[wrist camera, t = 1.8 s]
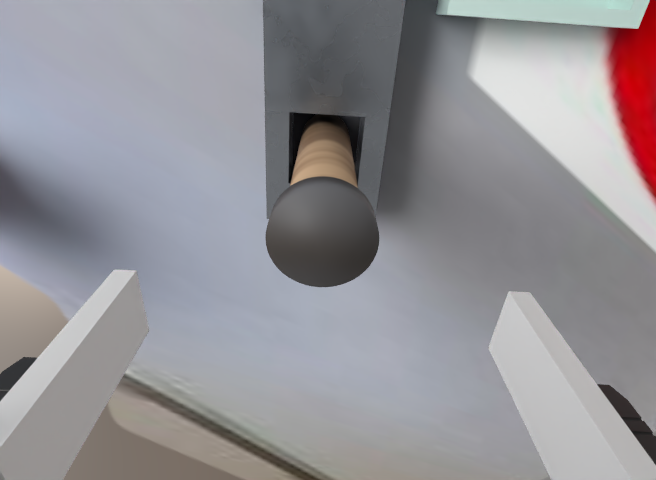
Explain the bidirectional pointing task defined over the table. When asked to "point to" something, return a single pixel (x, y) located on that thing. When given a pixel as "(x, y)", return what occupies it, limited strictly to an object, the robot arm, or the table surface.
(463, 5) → the tray
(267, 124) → the block
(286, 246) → the pin
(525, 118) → the table surface
